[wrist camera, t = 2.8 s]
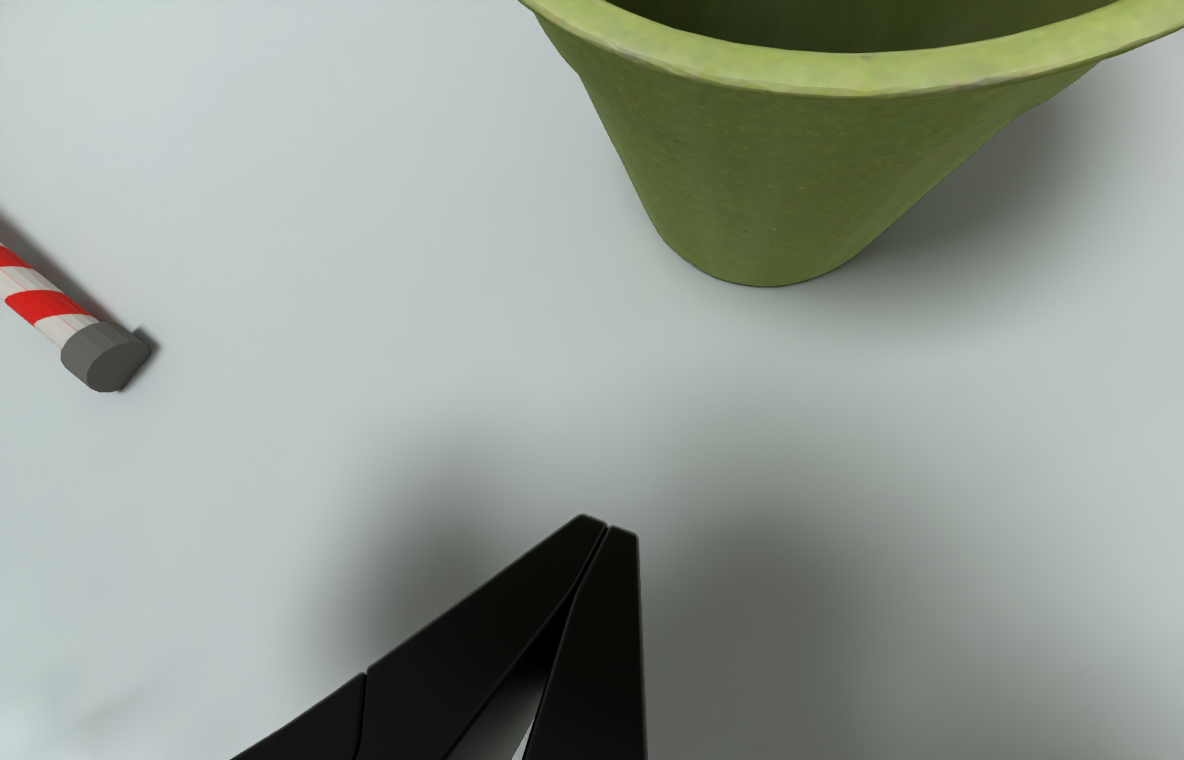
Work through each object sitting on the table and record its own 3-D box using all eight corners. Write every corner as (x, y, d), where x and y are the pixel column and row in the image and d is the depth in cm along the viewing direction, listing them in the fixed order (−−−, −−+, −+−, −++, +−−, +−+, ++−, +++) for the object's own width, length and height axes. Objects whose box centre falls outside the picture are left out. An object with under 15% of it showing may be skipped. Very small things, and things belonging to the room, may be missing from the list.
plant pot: (824, -55, 19) (1002, -779, 9) (1069, 237, 16) (1835, -328, 5) (500, 123, 20) (278, -363, 9) (680, 444, 17) (676, 299, 6)
